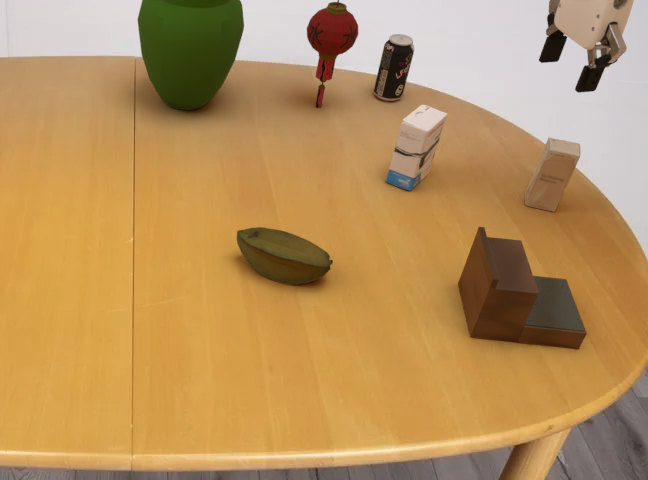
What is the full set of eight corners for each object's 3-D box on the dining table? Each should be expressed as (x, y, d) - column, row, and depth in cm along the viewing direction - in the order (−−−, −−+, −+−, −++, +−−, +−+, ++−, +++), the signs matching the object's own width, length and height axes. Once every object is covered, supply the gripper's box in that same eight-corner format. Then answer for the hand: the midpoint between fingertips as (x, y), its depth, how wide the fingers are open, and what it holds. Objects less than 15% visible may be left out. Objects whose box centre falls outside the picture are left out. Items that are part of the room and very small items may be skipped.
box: (524, 206, 148) (547, 148, 140) (524, 192, 151) (547, 136, 143) (556, 212, 147) (581, 155, 139) (556, 199, 150) (580, 142, 142)
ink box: (410, 192, 149) (428, 131, 141) (384, 182, 152) (400, 121, 144) (430, 172, 155) (449, 112, 147) (405, 162, 157) (421, 102, 149)
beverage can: (402, 92, 177) (417, 35, 168) (400, 105, 173) (415, 47, 164) (374, 87, 178) (388, 30, 170) (371, 100, 174) (384, 42, 166)
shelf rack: (559, 294, 131) (586, 237, 124) (578, 349, 122) (609, 290, 115) (457, 283, 132) (478, 226, 124) (470, 337, 123) (493, 278, 116)
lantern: (319, 90, 176) (348, -65, 155) (352, 110, 170) (387, -48, 150) (284, 102, 172) (309, -57, 151) (316, 123, 166) (347, -39, 146)
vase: (132, 123, 163) (136, -8, 146) (136, 75, 177) (141, -49, 161) (236, 129, 163) (252, -1, 146) (232, 80, 177) (247, -43, 161)
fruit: (266, 301, 127) (272, 266, 122) (230, 254, 135) (235, 218, 130) (334, 285, 130) (343, 250, 126) (295, 239, 138) (302, 204, 134)
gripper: (675, -18, 115) (622, 101, 127) (597, -63, 128) (555, 49, 139) (626, -15, 114) (577, 105, 125) (552, -61, 126) (513, 52, 138)
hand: (565, 75), depth 132 cm, fingers open, 9 cm apart
